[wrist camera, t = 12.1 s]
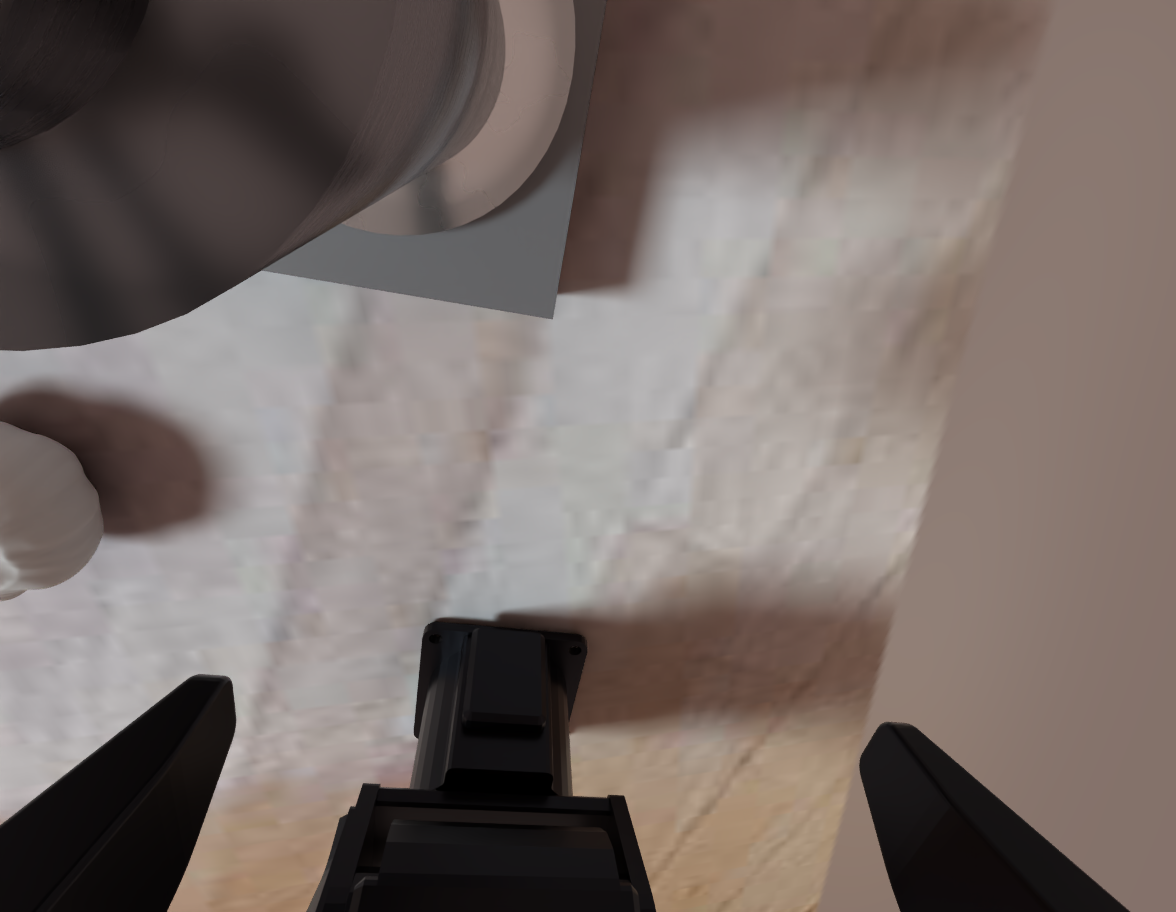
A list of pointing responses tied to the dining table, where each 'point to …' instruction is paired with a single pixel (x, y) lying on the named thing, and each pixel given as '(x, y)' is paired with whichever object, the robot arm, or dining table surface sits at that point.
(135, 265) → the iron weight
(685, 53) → the dining table surface
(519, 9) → the scale pan
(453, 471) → the dining table surface
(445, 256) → the scale
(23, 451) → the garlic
